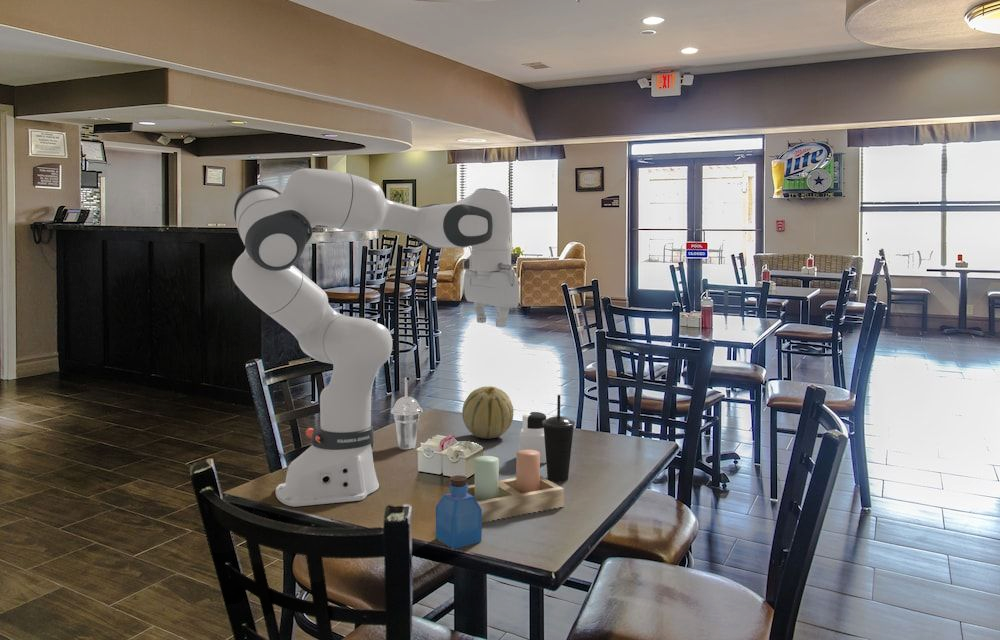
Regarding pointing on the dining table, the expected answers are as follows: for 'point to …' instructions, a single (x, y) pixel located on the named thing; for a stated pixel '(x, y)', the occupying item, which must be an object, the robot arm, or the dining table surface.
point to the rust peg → (527, 471)
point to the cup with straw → (406, 420)
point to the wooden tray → (520, 500)
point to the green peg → (486, 478)
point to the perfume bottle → (458, 516)
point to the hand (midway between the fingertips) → (490, 324)
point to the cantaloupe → (487, 412)
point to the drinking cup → (558, 445)
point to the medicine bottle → (533, 434)
